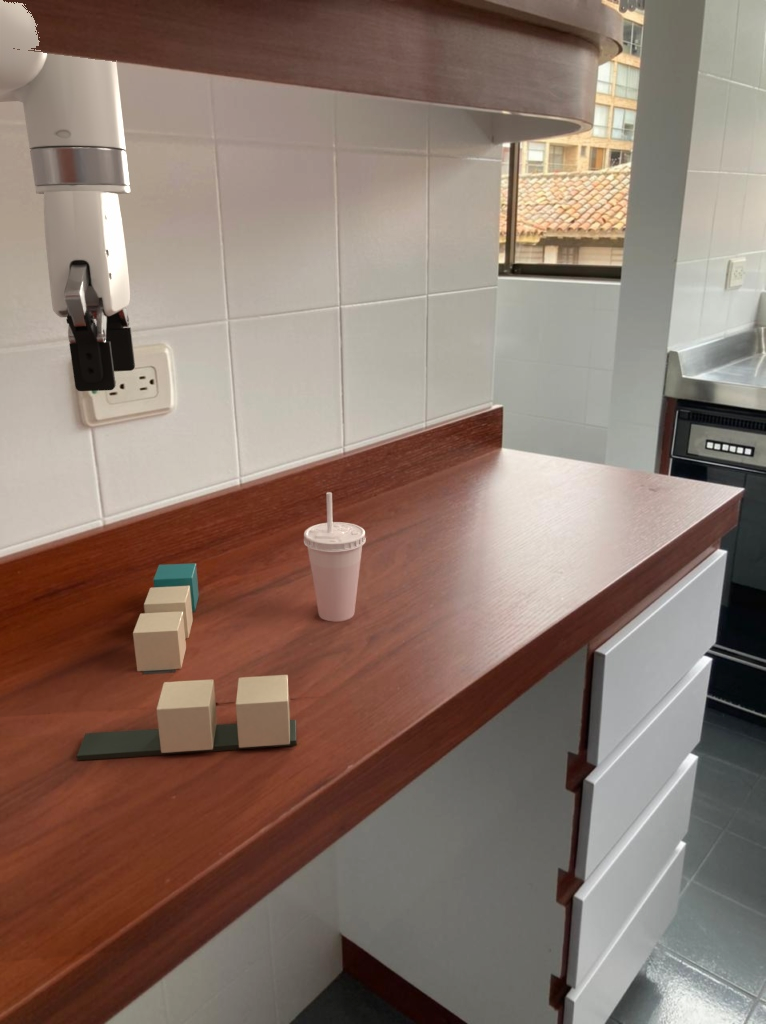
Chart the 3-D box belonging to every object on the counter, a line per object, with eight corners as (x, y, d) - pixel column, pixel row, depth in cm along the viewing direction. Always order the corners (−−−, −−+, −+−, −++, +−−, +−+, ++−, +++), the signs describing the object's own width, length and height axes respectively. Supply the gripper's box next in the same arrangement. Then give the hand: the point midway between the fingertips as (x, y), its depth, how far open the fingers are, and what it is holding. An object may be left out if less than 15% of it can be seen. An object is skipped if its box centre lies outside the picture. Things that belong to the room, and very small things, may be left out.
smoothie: (294, 615, 87) (289, 490, 83) (342, 598, 91) (339, 478, 86) (330, 637, 83) (326, 506, 78) (379, 618, 86) (378, 492, 82)
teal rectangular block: (156, 614, 87) (153, 579, 85) (162, 598, 90) (158, 564, 89) (195, 612, 87) (191, 577, 86) (198, 596, 91) (195, 563, 89)
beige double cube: (136, 679, 75) (131, 635, 74) (163, 600, 91) (159, 562, 89) (181, 676, 75) (176, 632, 74) (199, 598, 91) (196, 561, 90)
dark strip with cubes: (75, 765, 63) (68, 714, 62) (87, 734, 67) (80, 686, 65) (296, 749, 65) (294, 700, 63) (295, 720, 69) (293, 673, 67)
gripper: (61, 180, 76) (86, 365, 81) (1, 168, 59) (37, 400, 65) (144, 179, 76) (163, 363, 82) (107, 168, 60) (134, 397, 66)
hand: (107, 379), depth 74 cm, fingers open, 9 cm apart
